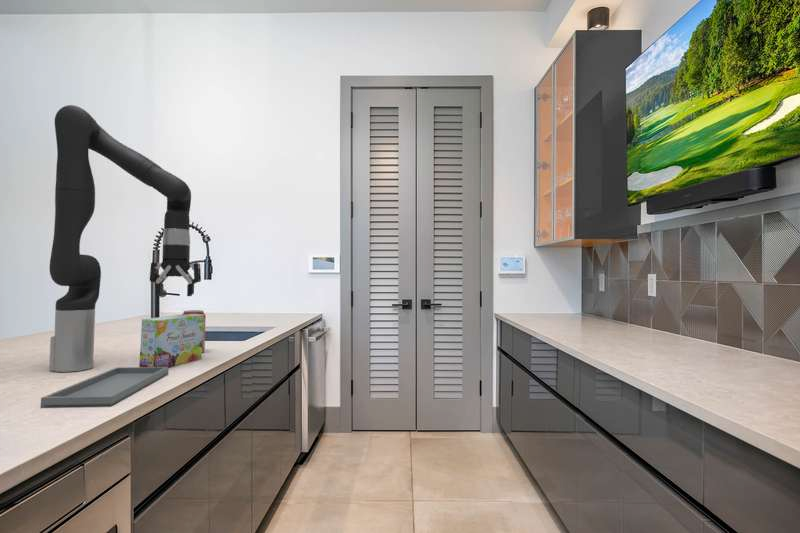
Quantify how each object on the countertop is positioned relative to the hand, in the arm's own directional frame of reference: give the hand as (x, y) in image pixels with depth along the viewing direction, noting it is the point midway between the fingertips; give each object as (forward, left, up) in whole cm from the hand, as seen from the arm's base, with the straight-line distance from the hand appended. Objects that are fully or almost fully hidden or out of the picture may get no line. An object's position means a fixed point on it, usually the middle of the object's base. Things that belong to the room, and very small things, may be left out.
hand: (175, 296), depth 134 cm
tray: (-3, -28, -21) cm, 36 cm away
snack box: (0, 0, -22) cm, 22 cm away
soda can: (-1, +20, -21) cm, 29 cm away
